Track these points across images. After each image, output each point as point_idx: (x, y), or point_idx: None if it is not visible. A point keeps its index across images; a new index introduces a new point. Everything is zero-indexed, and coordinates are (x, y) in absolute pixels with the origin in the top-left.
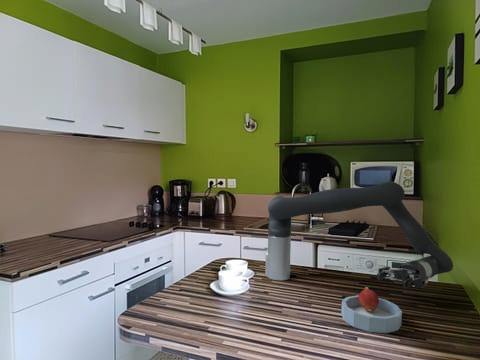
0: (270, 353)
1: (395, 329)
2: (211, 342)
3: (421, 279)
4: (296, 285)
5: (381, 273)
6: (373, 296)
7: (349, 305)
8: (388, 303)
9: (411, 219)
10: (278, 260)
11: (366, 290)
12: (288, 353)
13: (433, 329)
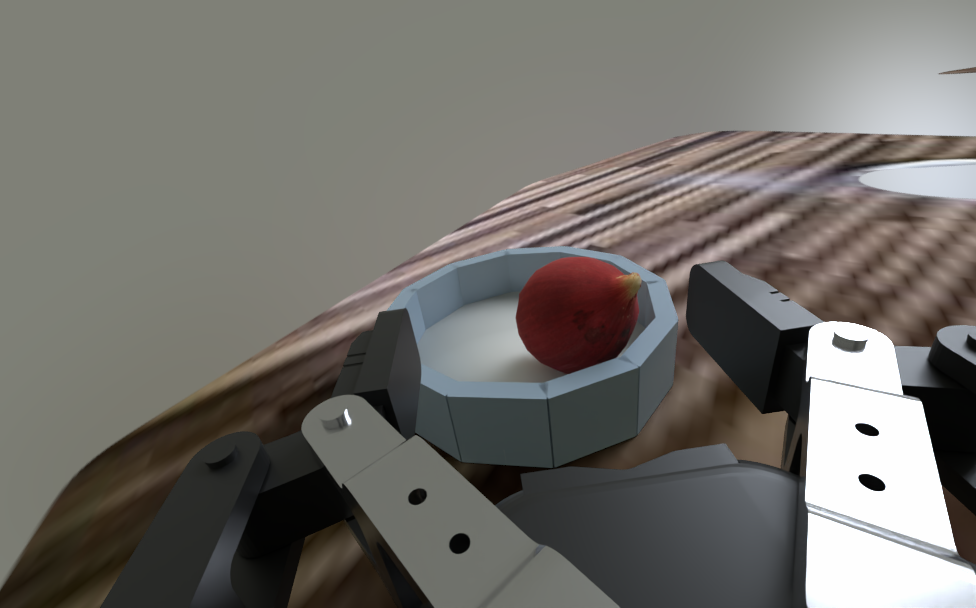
0: (514, 196)
1: None
2: (586, 169)
3: (194, 488)
4: None
5: (717, 282)
6: (529, 280)
7: (645, 318)
8: (501, 386)
9: None
10: None
11: (582, 257)
12: (498, 207)
13: None
